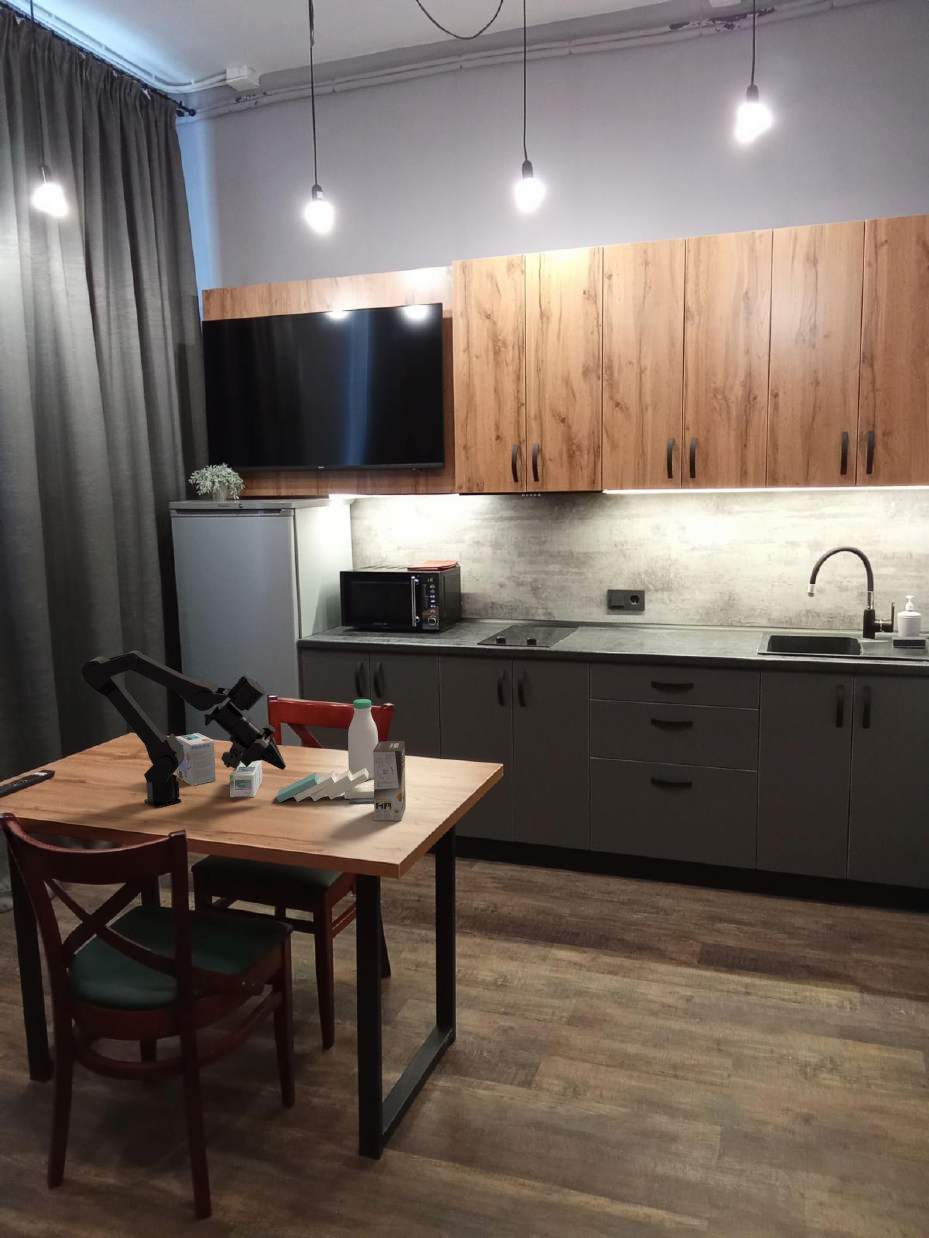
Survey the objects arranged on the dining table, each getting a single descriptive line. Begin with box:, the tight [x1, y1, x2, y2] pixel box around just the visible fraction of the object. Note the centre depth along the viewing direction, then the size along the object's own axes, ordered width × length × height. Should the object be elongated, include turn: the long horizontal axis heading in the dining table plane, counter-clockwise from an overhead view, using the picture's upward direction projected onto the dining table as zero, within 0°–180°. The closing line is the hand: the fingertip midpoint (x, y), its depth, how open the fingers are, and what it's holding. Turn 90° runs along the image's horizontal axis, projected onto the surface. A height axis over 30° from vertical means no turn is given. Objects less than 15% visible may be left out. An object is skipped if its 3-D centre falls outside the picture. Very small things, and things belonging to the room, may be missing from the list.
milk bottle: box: [347, 698, 379, 781], centre depth 245 cm, size 8×8×20 cm
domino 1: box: [275, 772, 320, 803], centre depth 228 cm, size 2×5×10 cm
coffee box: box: [373, 740, 407, 822], centre depth 215 cm, size 9×6×16 cm
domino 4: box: [327, 768, 369, 800], centre depth 228 cm, size 2×5×10 cm
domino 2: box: [293, 770, 337, 803], centre depth 228 cm, size 2×5×10 cm
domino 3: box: [310, 769, 352, 802], centre depth 228 cm, size 2×5×10 cm
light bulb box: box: [175, 732, 217, 786], centre depth 244 cm, size 11×7×11 cm, turn 38°
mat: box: [349, 798, 374, 805], centre depth 229 cm, size 10×10×1 cm
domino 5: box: [344, 784, 374, 800], centre depth 229 cm, size 2×5×10 cm
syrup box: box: [229, 760, 263, 798], centre depth 236 cm, size 6×6×14 cm
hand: (284, 768), depth 227 cm, fingers closed
